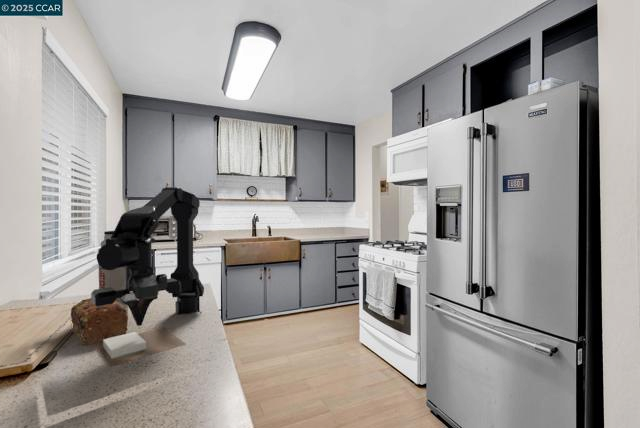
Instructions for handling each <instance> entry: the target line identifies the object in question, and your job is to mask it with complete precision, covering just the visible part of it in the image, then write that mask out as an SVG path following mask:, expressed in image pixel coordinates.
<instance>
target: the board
mask: <svg viewBox="0 0 640 428" xmlns="http://www.w3.org/2000/svg"><path fill="white" fill-rule="evenodd" d="M137 334H138V335H139V336H140V337H141V338H142V339H143V340H144V341H146V350H144V351H140V352H137V353H133V354H129V355H126V356H122V357H119V358H115V359H111V358H110V356H109V355H108V354H107V352H106V351H105V349H104V348H103V341H101V342H97V343H96V346H97V348H98V349H99V351H100V352H101V354H102V355H103V358H105V360H106V361H107V363H108V365H109V366H110V367H114V366H118V365H120V364H121V365H122V364H124V363H127V362H131V361H134V360H137V359H141V358H145V357H148V356H151V355H155V354H157V353H161V352H165V351H168V350H171V349H174V348H177V347H181V346H185V345H187V343H186V342H184V341H183V340H182V339H181V338H179V337H178V336H177V335H175V334H173V333H172V331H170V330H168V329H167V328H166V327H165V326H164V327H160V328H156V329H151V330H147V331H144V332H143V331H142V332H140V333H139V332H138V333H137Z"/></svg>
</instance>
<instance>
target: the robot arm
mask: <svg viewBox="0 0 640 428" xmlns="http://www.w3.org/2000/svg"><path fill="white" fill-rule="evenodd" d="M199 208H200V199H199V197H197V196H196V195H195V194H194V193H192V192H188V191H186V190H184V189H182V188H181V187H179V186H170V187H169V186H168V187H167V186H166V187H163V188H161V191H160V192H159V193H158V194H157V195H155V196H154V197H153V198H151V199H150V200H149V201H148V202H147V203H146V204H144V205H143V206H141V207H137V208H132V209H130V210H127V211H126V212H124V213H122V215H121V216H120V218H119V221H118V222H117V224H116V227H115V229H114V230H113V231H114V232H113V234H112V236H111V238H110V239H106V245H104V246H102V247H101V246H100V248H99V249H100V250H99V251H97V254H96V261H97V262H96V263H98V266H99V265H100V266H101V267H102V268H103V269H105V270H114V269H118V268H122V267H125V289H121V290H114V289H113V288H111V287H109V288H102V289H99V288H98V289H94V290H93V291H91V293H90V298H91V302H92V303H93V304H94V305H95V306H102V305H108V304H113V303H114V302H115V300H116V298H120V301H121V302H122V303H124V304H127V305H128V310H130V313H131V315H132V317H133V319H134V321H135V322H134V323H135V324H136V326H138V327H140V326H142V325H143V322H144V320H145V317H146V315H147V311H148V309H149V307H150V305H151V303H152V302H153V301H154V300H158V296H159V292H161V291H165V292H167V293H168V294H171V297H172V298H176V301H175V313H176V315H184V314H185V315H187V314H194V313H196V312H198V313H200V314H203V312H202V311H200V310H201V309H200V305H201V304H200V297H203V296H204V292H205V286H204V285H203V283H202V282H201V280H200V275H199V271H198V270H197V268H196V267H195V265H194V221H195V220H196V217H197V216H198V214H199ZM168 210H170V214H171V216H172V217H173V218H174V220H175V222H176V268H175V270H174V271H173V272H171V274H170V278H168V276H167V274H166V273H158V274H157V275H155V274H154V267H153V266H152V265H153V264H152V261H153V260H152V257H153V256H152V255H153V253H152V244H154V243H156V239H155V238H154V237H152V235H153V234H154V232H155V231H156V230H157V228H158V227H159V226H160V222H159V220H160V218H161V217H162V216H163V215H164V214H165V213H166V212H168Z"/></svg>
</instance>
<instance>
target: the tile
mask: <svg viewBox="0 0 640 428" xmlns="http://www.w3.org/2000/svg"><path fill="white" fill-rule="evenodd" d="M138 334H139V333H137V332H136V331H133V332H129V333H126V334H124V335H120V336H116V337H111V338H107V339H103V341H102V342H103V348H104V349H105V351H106V352H107V354H108V355H109V356H110V358H111V359H115V358H119V357H122V356H126V355H129V354H133V353H137V352H140V351H144V350H146V341H144V340H143V339H142V338H141V337H140V336H139V335H138Z"/></svg>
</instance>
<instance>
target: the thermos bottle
mask: <svg viewBox="0 0 640 428" xmlns="http://www.w3.org/2000/svg"><path fill="white" fill-rule="evenodd" d="M113 232H114V230H107V231H104V232H103V234H104V236H103V240H102V241H101V242H100V244H99V245H100V248H101V247H102V246H104V245H106V239H110V238H111V236H112V234H113ZM100 248H98V251H99V250H100ZM98 251H97V252H98ZM109 287H111V288H113V289H114V290H121V289H125V267H122V268H118V269H114V270H105V269H103V268H102V267H101V266H100V265H99V264H98V289H102V288H109ZM115 301H117V302H119V303H120V304H122V305H123V306H125V308H126V309H127V315H129V307H128V305H127V304H124V303H122V302H121V301H120V298H116V300H115Z"/></svg>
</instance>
